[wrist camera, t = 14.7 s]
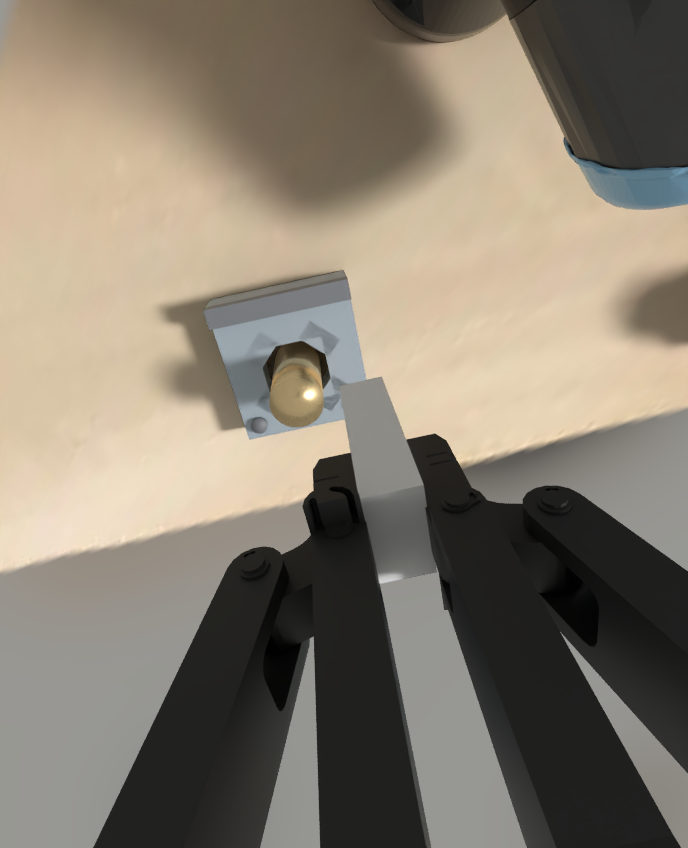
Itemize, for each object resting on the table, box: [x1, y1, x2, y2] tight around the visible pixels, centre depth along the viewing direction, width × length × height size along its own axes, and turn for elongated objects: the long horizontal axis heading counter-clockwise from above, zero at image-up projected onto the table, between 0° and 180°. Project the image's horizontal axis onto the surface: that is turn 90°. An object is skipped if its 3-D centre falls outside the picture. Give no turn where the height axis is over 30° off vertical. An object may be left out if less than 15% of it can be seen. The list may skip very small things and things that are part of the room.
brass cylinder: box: [269, 341, 324, 428], centre depth 46 cm, size 5×5×10 cm
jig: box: [203, 270, 366, 440], centre depth 48 cm, size 14×13×4 cm
